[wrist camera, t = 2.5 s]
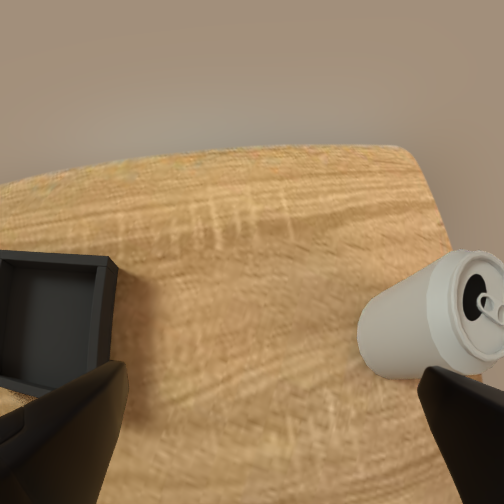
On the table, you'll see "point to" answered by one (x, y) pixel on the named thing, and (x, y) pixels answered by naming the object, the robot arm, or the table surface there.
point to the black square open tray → (53, 318)
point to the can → (437, 319)
